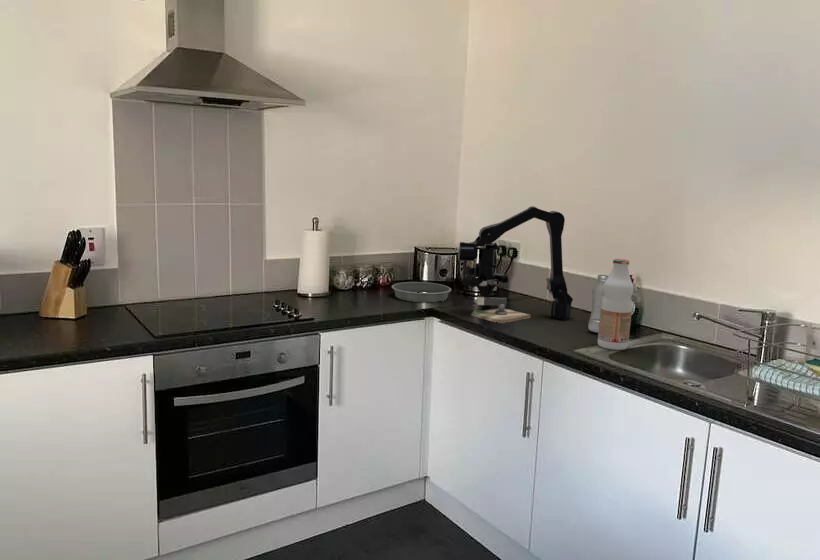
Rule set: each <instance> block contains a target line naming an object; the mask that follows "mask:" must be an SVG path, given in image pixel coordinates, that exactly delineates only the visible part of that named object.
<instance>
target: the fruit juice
mask: <svg viewBox="0 0 820 560" xmlns="http://www.w3.org/2000/svg"><path fill="white" fill-rule="evenodd" d="M612 264H613V266H612V269H611V271H610V272H609V275H608V276H609V277H608V278H607V280H606V281H605V283H604V287H603V289H604V297H603V299H602V303H601V312H600V322H599V332H598V333H597V345H598V346H599V347H601V348H603V349H607V350H615V351H622V350H626V349H628V347H629V346H628V345H629V341H630V340H629V339H630V332H631V331H630V330H631V322H632V311H633V301H632V297H633V296H632V295H633V293H634V290H635V289H634V288H635V287H634V284H633V281H632V279H631V275H630V271H629V266H630V260H629V259H625V258H613V260H612Z"/></svg>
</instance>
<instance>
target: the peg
mask: <svg viewBox="0 0 820 560" xmlns="http://www.w3.org/2000/svg"><path fill="white" fill-rule="evenodd" d="M476 298H477V299H476V305H477V306H478V305H479V306H498V310H500V311H505V309H506V307H507V303H508V302H507V299H508V298H506V297H493V296H492V297H490V296H489V297H481V296H476Z"/></svg>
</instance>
